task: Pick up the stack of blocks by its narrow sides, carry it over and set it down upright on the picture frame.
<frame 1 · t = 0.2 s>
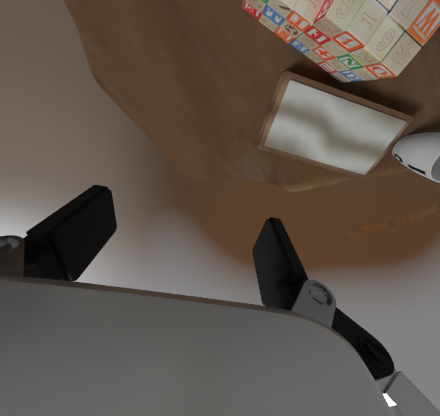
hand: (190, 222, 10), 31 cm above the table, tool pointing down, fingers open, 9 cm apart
stack of blocks: (307, 26, 28), on the table
cup: (404, 146, 37), on the table
picture frame: (324, 131, 36), on the table
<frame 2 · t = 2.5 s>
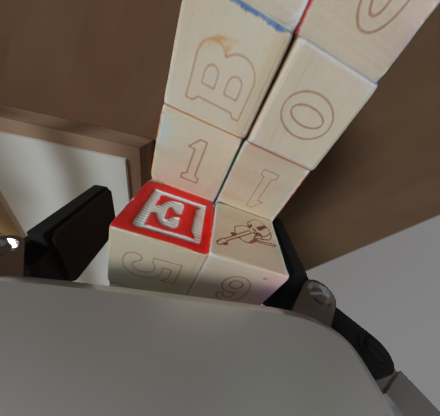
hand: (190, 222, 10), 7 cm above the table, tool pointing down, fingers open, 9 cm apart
stack of blocks: (215, 164, 16), on the table
picture frame: (102, 232, 22), on the table
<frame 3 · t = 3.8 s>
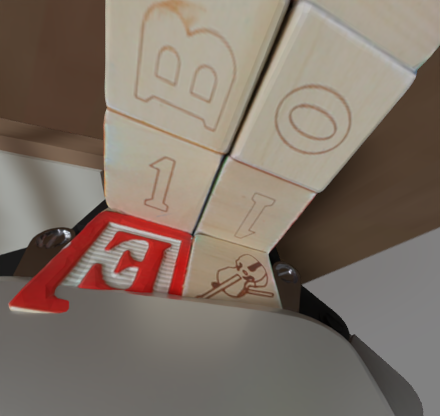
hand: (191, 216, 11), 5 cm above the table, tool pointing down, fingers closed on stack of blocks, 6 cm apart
stack of blocks: (204, 173, 15), on the table, touching gripper
picture frame: (85, 247, 20), on the table
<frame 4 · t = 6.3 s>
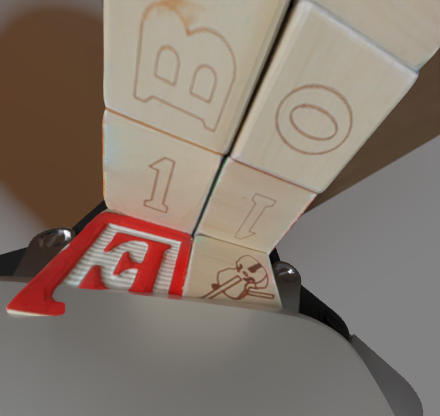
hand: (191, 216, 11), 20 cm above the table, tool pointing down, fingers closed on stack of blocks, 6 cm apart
stack of blocks: (204, 173, 15), point 15 cm above the table, touching gripper
when the fingers open (9 cm above the table, at t = 9.2 s): stack of blocks stays where it is, resting on picture frame.
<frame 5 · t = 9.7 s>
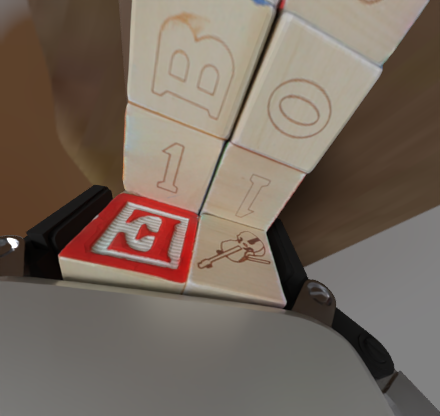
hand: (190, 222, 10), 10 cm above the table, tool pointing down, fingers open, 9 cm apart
stack of blocks: (206, 167, 16), point 3 cm above the table, touching picture frame
picture frame: (204, 166, 19), on the table
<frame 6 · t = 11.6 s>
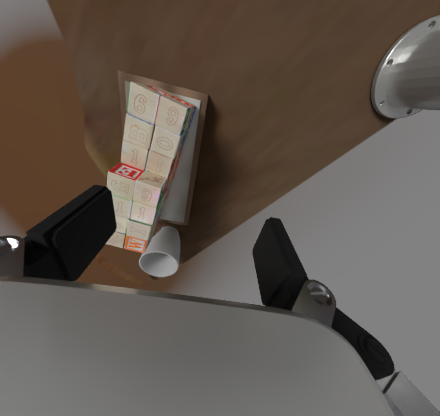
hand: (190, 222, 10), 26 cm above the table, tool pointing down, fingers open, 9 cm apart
stack of blocks: (161, 160, 31), point 3 cm above the table, touching picture frame
cup: (169, 233, 45), on the table
picture frame: (165, 162, 34), on the table
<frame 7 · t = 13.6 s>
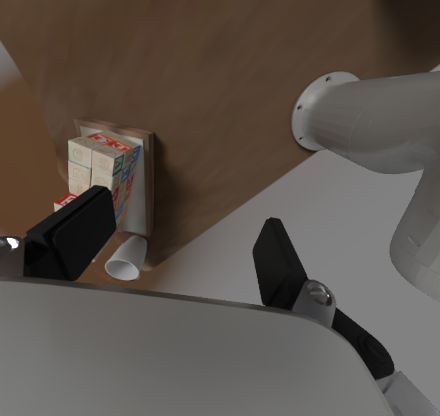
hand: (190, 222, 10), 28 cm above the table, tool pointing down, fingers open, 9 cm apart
stack of blocks: (117, 183, 37), point 3 cm above the table, touching picture frame
cup: (138, 241, 51), on the table
picture frame: (126, 183, 40), on the table
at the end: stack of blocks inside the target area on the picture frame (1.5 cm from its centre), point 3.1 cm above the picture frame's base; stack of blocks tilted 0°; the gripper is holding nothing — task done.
